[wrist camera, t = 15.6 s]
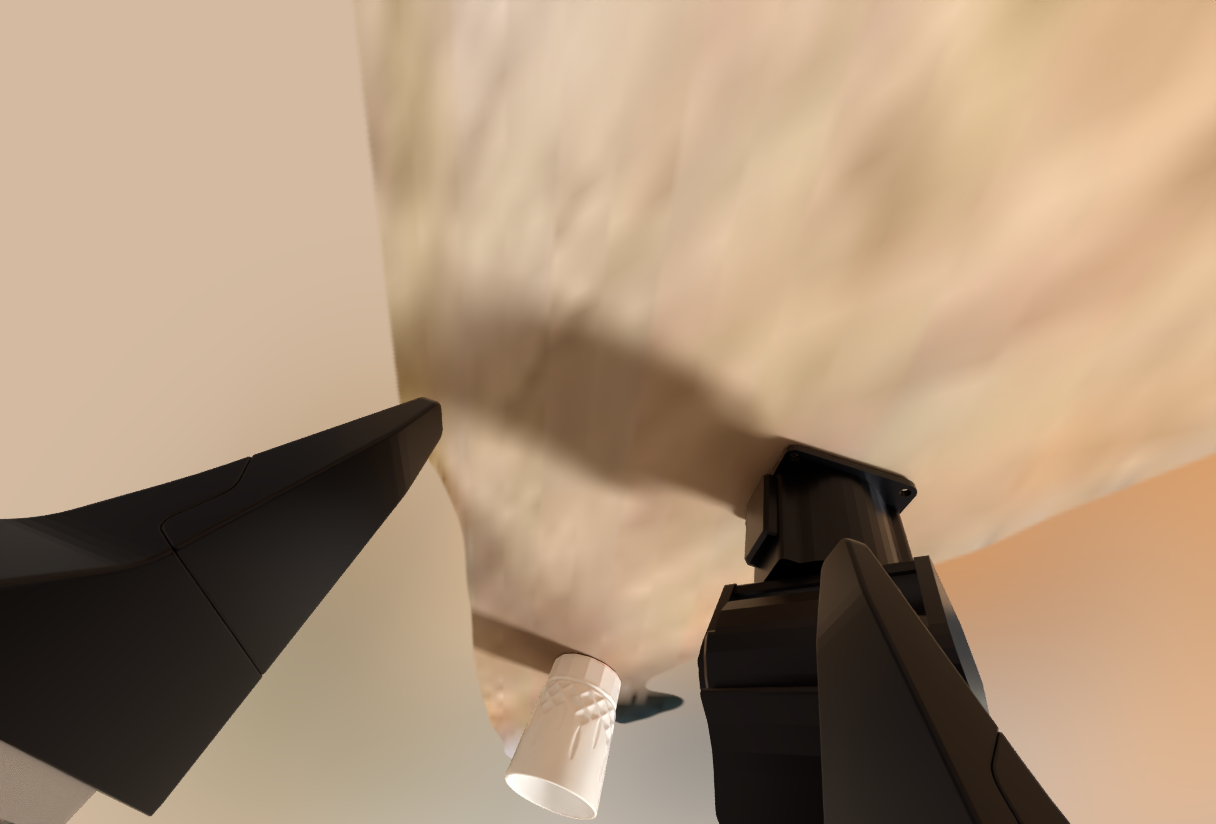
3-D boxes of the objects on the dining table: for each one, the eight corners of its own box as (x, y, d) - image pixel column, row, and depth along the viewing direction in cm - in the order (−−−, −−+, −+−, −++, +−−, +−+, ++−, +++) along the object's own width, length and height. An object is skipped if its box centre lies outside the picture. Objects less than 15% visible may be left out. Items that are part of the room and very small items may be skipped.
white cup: (557, 682, 48) (515, 799, 40) (543, 641, 43) (494, 763, 36) (630, 701, 46) (601, 829, 38) (623, 660, 41) (589, 794, 33)
